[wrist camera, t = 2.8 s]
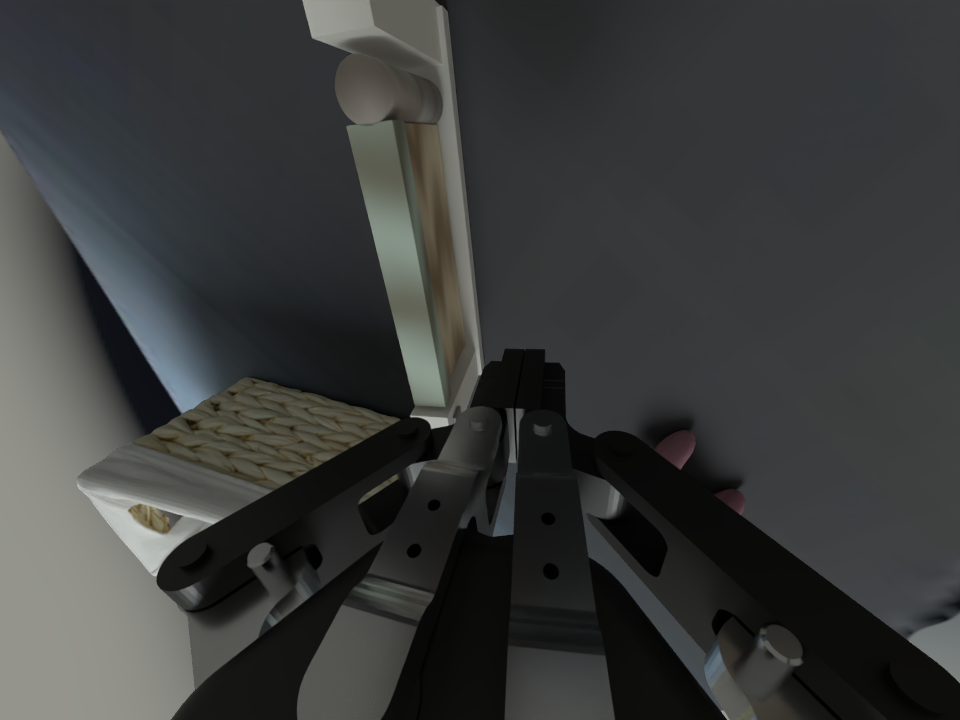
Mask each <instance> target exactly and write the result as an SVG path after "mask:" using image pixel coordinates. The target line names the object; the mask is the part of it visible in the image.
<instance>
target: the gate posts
mask: <svg viewBox="0 0 960 720" xmlns="http://www.w3.org/2000/svg"><path fill="white" fill-rule="evenodd" d="M302 1H303V4H304V8H305V12H306V16H307V20H308V24H309V28H310V31H311V35H312V38H314V39H316V40H319V41H321V42H324V43H327V44H329V45H332V46H335V47H337V48H340V49H343V50H345V51H348V52H351V53H353V54H356V53H359V54H364V55H367V56H369V57H372V58H374V59H377V60H379V61H382V62H384V63H387V64H390V65H392V66H395V67H397V68H400V69H402V70H405V71H407V72H410V73H412V74H415V75H418V76H420V77H423V78H425V79H428V80H430V81H432V82H433V83H434V84H435V85H436V86H437V87H438V89H439V91H440V93H441V96H442V100H443V111H442V115H441V118H440V120H439V121H438V122H437V123H436V124H435V125H437V129H438V137H439V144H440V152H441V160H442V167H443V175H444V183H445V190H446V198H447V206H448V213H449V221H450V228H451V236H452V244H453V251H454V259H455V267H456V274H457V282H458V289H459V297H460V305H461V312H462V320H463V328H464V335H465V343H466V344H465V347H464V349H463V351H462V353H461V355H460V357H459V359H458V361H457V363H456V365H455V368H454V370H453V372H452V374H451V376H450V378H449V380H448V381H449V387H450V393H451V396H450V398H449V401H448V403H447V405H446V407H434V406H418V405H415V407H414V409H413V411H412V413H411V414H410V417H419V418H423V419H425V420H427V421H428V422H429V423H430V425H431V429H433V428H439V427H444V426H449V425H452V424H455V422H456V420H457V418H458V417H459V415H460V414H461V413H462V412H464V411H465V410H466V409H467V406H468V403H469V400H470V397H471V395H472V392H473V389H474V386H475V384H476V381H477V378H478V375H481V374H482V371H483V368H484V359H483V349H482V340H481V330H480V320H479V311H478V301H477V291H476V281H475V272H474V262H473V252H472V242H471V233H470V223H469V213H468V204H467V194H466V184H465V174H464V165H463V155H462V145H461V136H460V126H459V116H458V106H457V97H456V87H455V77H454V68H453V58H452V48H451V38H450V29H449V19H448V11H447V10H446V9H445V8H444V7H443V6H440V5H439V4H438V3H437V2H436V1H435V0H302Z"/></svg>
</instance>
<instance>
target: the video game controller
mask: <svg viewBox="0 0 960 720" xmlns="http://www.w3.org/2000/svg"><path fill="white" fill-rule="evenodd" d="M695 444H696V439H695V436H694V434H693V433H692V432H690V431H687V430H681V431H678V432H675V433H673V434H671V435H669V436H668V437H666V438H665V439H664V440H662V441H661V442H660V443H659V444H658V445H657V446H656V447H655V449H654V450H655V451H656V452H657V453H659V454H660V455H661V456H663V457H664V458H665V459H667V460H668V461H669V462H671V463H672V464H673V465H675V466H676V467H677V468H679V469H680V470H681V468H682V466H683V465H684V464H685V462H686V461H687V460H688V458H689V457H690V456H691V454H692V452H693V451H694V448H695ZM715 496H716V497H717V498H719V499H720V500H721V501H723V502H724V503H725V504H727V505H728V506H729V507H731V508H732V509H733V510H735V511H736V512H737V513H739V514H740V515H741V514H742V512H743V510H744V507H745V499H744V496H743V494H742V493H741V492H740V491H738V490H735V489H726V490H722V491H720V492H718V493H716V494H715Z"/></svg>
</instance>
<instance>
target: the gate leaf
mask: <svg viewBox="0 0 960 720" xmlns="http://www.w3.org/2000/svg"><path fill="white" fill-rule="evenodd" d="M335 91H336V96H337V99H338V102H339V104H340V106H341V108H342V110H343V111H344V113H345V114H346V115H347V117H348V118H349V119H351V120H352V121H353V122H355V123H356V124H359V125H351V126H346V127H347V131H348V135H349V139H350V143H351V147H352V151H353V156H354V160H355V164H356V168H357V172H358V176H359V180H360V184H361V188H362V192H363V196H364V200H365V205H366V209H367V213H368V217H369V221H370V225H371V229H372V233H373V237H374V241H375V245H376V249H377V253H378V258H379V262H380V266H381V270H382V274H383V278H384V282H385V286H386V290H387V294H388V298H389V302H390V307H391V311H392V315H393V319H394V323H395V327H396V331H397V335H398V339H399V343H400V347H401V351H402V356H403V360H404V364H405V368H406V372H407V376H408V380H409V384H410V388H411V392H412V396H413V400H414V404H415V405H418V406H434V407H446V405H447V403H448V401H449V398H450V396H451V393H450V387H449V381H448V380H449V378H450V376H451V374H452V372H453V370H454V368H455V365H456V363H457V361H458V359H459V357H460V355H461V353H462V351H463V349H464V347H465V344H466V343H465V335H464V328H463V320H462V312H461V305H460V297H459V289H458V282H457V274H456V267H455V259H454V251H453V244H452V236H451V228H450V221H449V213H448V206H447V198H446V190H445V183H444V175H443V167H442V160H441V152H440V144H439V137H438V129H437V125H435V124H436V123H437V122H438V121H439V120H440V118H441V115H442V111H443V100H442V96H441V93H440V91H439V89H438V87H437V86H436V85H435V84H434V83H433V82H432V81H430V80H428V79H425V78H423V77H420V76H418V75H415V74H412V73H410V72H407V71H405V70H402V69H400V68H397V67H395V66H392V65H390V64H387V63H384V62H382V61H379V60H377V59H374V58H372V57H369V56H367V55H364V54H359V53H356V54H351V55H349V56H347V57H346V58H344V59H343V60H342V62H341V63H340V64H339V67H338V69H337V72H336V76H335Z"/></svg>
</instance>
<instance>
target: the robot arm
mask: <svg viewBox="0 0 960 720" xmlns="http://www.w3.org/2000/svg"><path fill="white" fill-rule="evenodd" d="M517 453H518V472H517V473H516V487H515V511H514V535H506V536H497V537H492V536H493V531H494V527H495V523H496V519H497V515H498V511H499V507H500V503H501V500H502V496H503V492H504V488H505V484H506V473H507V468H508V463H516V460H517ZM396 474H397V476H398V479H397V480H396V481H394V482H393V483H391V484H389V485H388V486H386V487H385V488H383V489H382V490H380V491H379V492H377V493H376V494H374V495H373V496H371V497H370V498H368V499H367V500H365V501H364V502H362V503H360V504H358V503H359V501H360V499H361V498H362V497H363V496H364V495H365V494H367V493H368V492H370V491H371V490H373V489H374V488H376V487H377V486H379V485H380V484H382V483H383V482H385V481H387V480H388V479H390V478H391V477H393V476H394V475H396ZM582 511H584V512H586V514H587V517H588V519H589V521H590V522H591V523H592V525H593V526H594V527H595V528H596V529H597V530H598V531H599V533H600V534H601V535H602V536H603V537H604V538H605V539H606V541H607V542H608V543H609V544H610V545H611V546H612V547H613V549H614V550H615V551H616V552H617V553H618V554H619V555H620V556H621V558H622V559H623V560H624V561H625V562H626V563H627V564H628V566H629V567H630V568H631V569H632V570H633V571H634V572H635V574H636V575H637V576H638V577H639V578H640V579H641V580H642V581H643V583H644V584H645V585H646V586H647V587H648V588H649V589H650V591H651V592H652V593H653V594H654V595H655V596H656V597H657V599H658V600H659V601H660V602H661V603H662V604H663V605H664V606H665V608H666V609H667V610H668V611H669V612H670V613H671V614H672V616H673V617H674V618H675V619H676V620H677V621H678V622H679V624H680V625H681V626H682V627H683V628H684V629H685V630H686V631H687V633H688V634H689V635H690V636H691V637H692V638H693V639H694V641H695V642H696V643H697V644H698V645H699V646H700V647H701V649H702V650H703V651H704V652H705V653H706V657H705V674H706V677H707V681H708V684H709V686H710V689H711V691H712V692H713V694H714V696H715V698H716V699H717V701H718V702H719V704H720V705H721V707H722V708H723V710H724V711H725V713H726V714H727V716H728V717H729V719H730V720H960V683H959V682H958V681H957V680H956V679H955V678H954V677H953V676H952V675H951V674H950V673H948V672H947V671H946V670H945V669H944V668H943V667H942V666H940V665H939V664H938V663H937V662H935V661H934V660H933V659H931V658H930V657H929V656H927V655H926V654H925V653H924V652H922V651H921V650H920V649H918V648H917V647H915V646H914V645H913V644H912V643H910V642H909V641H908V640H906V639H905V638H904V637H902V636H901V635H900V634H898V633H897V632H896V631H894V630H893V629H892V628H890V627H889V626H888V625H886V624H885V623H884V622H882V621H881V620H880V619H878V618H877V617H876V616H874V615H873V614H872V613H870V612H869V611H868V610H866V609H865V608H864V607H862V606H861V605H860V604H858V603H857V602H856V601H854V600H853V599H852V598H850V597H849V596H848V595H846V594H845V593H844V592H842V591H841V590H840V589H838V588H837V587H836V586H834V585H833V584H832V583H830V582H829V581H828V580H826V579H825V578H824V577H822V576H821V575H820V574H818V573H817V572H816V571H814V570H813V569H812V568H810V567H809V566H808V565H806V564H805V563H804V562H802V561H801V560H800V559H798V558H797V557H796V556H794V555H793V554H792V553H790V552H789V551H788V550H786V549H785V548H784V547H782V546H781V545H780V544H778V543H777V542H776V541H774V540H773V539H772V538H770V537H769V536H768V535H766V534H765V533H764V532H762V531H761V530H760V529H758V528H757V527H756V526H755V525H753V524H752V523H751V522H749V521H748V520H747V519H745V518H744V517H743V516H741V515H740V514H739V513H737V512H736V511H735V510H733V509H732V508H731V507H729V506H728V505H727V504H725V503H724V502H723V501H721V500H720V499H719V498H717V497H716V496H715V495H713V494H712V493H711V492H709V491H708V490H707V489H705V488H704V487H703V486H701V485H700V484H699V483H697V482H696V481H695V480H693V479H692V478H691V477H689V476H688V475H687V474H685V473H684V472H683V471H681V470H680V469H679V468H677V467H676V466H675V465H673V464H672V463H671V462H669V461H668V460H667V459H665V458H664V457H663V456H661V455H660V454H659V453H657V452H656V451H655V450H653V449H652V448H651V447H649V446H648V445H647V444H645V443H644V442H643V441H641V440H640V439H639V438H637V437H636V436H634V435H632V434H629V433H626V432H622V431H607V432H604V433H601V434H600V435H598V436H597V437H596V438H592V437H589V436H586V435H583V434H581V433H579V432H577V431H575V430H574V429H573V428H572V427H571V426H570V425H569V424H568V422H567V420H566V406H565V370H564V369H563V368H562V366H561V365H560V364H559V363H546V362H545V349H526V350H524V349H505V351H504V355H503V358H502V361H491V362H490V363H489V364H488V365H486V366H485V367H484V368H483V371H482V374H481V378H480V380H479V383H478V386H477V389H476V392H475V395H474V397H473V400H472V403H471V406H470V408H469V409H467V410H465V411H464V412H462V413H461V414H460V415H459V417H458V418H457V420H456V422H455V424H452V425H449V426H444V427H439V428H433V429H431V425H430V423H429V422H428V421H427V420H425V419H423V418H419V417H410V418H405V419H402V420H400V421H398V422H396V423H394V424H392V425H390V426H389V427H387V428H385V429H383V430H381V431H380V432H378V433H376V434H374V435H372V436H371V437H369V438H367V439H365V440H364V441H362V442H360V443H358V444H356V445H355V446H353V447H351V448H349V449H347V450H346V451H344V452H342V453H340V454H338V455H337V456H335V457H333V458H331V459H329V460H328V461H326V462H324V463H322V464H321V465H319V466H317V467H315V468H313V469H312V470H310V471H308V472H306V473H304V474H303V475H301V476H299V477H297V478H295V479H294V480H292V481H290V482H288V483H286V484H285V485H283V486H281V487H279V488H278V489H276V490H274V491H272V492H270V493H269V494H267V495H265V496H263V497H261V498H260V499H258V500H256V501H254V502H252V503H251V504H249V505H247V506H245V507H243V508H242V509H240V510H238V511H236V512H235V513H233V514H231V515H229V516H227V517H226V518H224V519H222V520H220V521H218V522H217V523H215V524H213V525H211V526H209V527H208V528H206V529H204V530H202V531H200V532H199V533H197V534H195V535H193V536H192V537H190V538H188V539H187V540H185V541H184V542H182V543H181V544H180V545H179V546H177V547H176V548H175V549H174V550H173V551H172V552H171V553H170V554H169V555H168V556H167V558H166V559H165V560H164V562H163V563H162V565H161V567H160V568H159V571H158V574H157V585H158V586H159V587H160V589H161V590H163V591H164V592H165V593H166V594H167V595H168V596H169V597H170V598H171V599H172V600H173V601H175V602H176V603H177V606H178V608H179V609H180V610H181V611H182V612H183V613H184V614H185V615H186V616H188V624H189V634H190V643H191V654H192V664H193V674H194V684H195V691H194V692H193V693H192V694H191V695H190V696H189V698H188V699H187V700H186V701H185V702H184V703H183V704H182V706H181V707H180V709H179V710H178V711H177V712H176V714H175V715H174V717H173V718H172V719H171V720H727V719H726V718H725V716H724V715H723V714H722V712H721V711H720V710H719V709H718V707H717V706H716V705H715V703H714V702H713V701H712V700H711V698H710V697H709V696H708V694H707V693H706V692H705V691H704V689H703V688H702V687H701V685H700V684H699V683H698V682H697V680H696V679H695V678H694V676H693V675H692V674H691V673H690V671H689V670H688V669H687V667H686V666H685V665H684V664H683V662H682V661H681V660H680V658H679V657H678V656H677V655H676V653H675V652H674V651H673V649H672V648H671V647H670V646H669V644H668V643H667V642H666V640H665V639H664V638H663V637H662V635H661V634H660V633H659V631H658V630H657V629H656V627H655V626H654V625H653V624H652V622H651V621H650V620H649V618H648V617H647V616H646V615H645V613H644V612H643V611H642V609H641V608H640V607H639V606H638V604H637V603H636V602H635V600H634V599H633V598H632V597H631V595H630V594H629V593H628V591H627V590H626V589H625V588H624V586H623V585H622V584H621V583H620V582H619V581H618V580H617V579H616V578H615V577H614V576H613V575H612V574H611V573H610V572H609V571H608V570H607V569H605V568H604V567H603V566H602V565H600V564H599V563H597V562H596V561H594V560H593V559H591V558H589V557H588V551H587V544H586V537H585V530H584V523H583V516H582Z"/></svg>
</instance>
